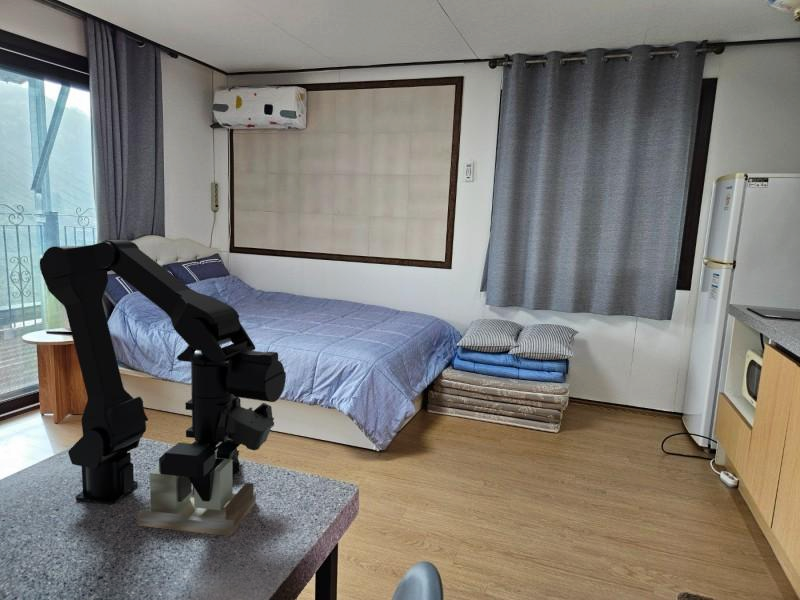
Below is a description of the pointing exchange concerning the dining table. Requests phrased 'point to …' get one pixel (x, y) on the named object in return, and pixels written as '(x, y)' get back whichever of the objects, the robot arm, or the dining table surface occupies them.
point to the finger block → (218, 488)
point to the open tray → (192, 507)
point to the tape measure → (235, 462)
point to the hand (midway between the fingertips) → (213, 493)
